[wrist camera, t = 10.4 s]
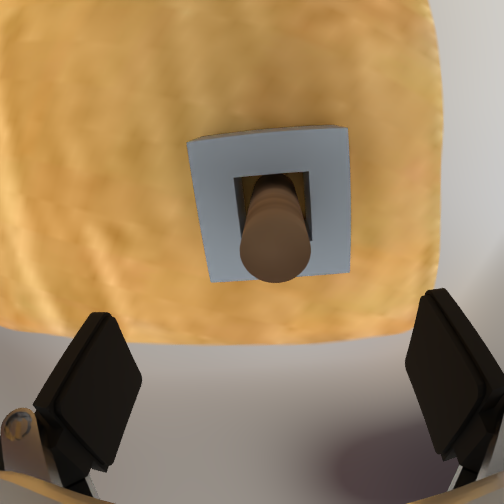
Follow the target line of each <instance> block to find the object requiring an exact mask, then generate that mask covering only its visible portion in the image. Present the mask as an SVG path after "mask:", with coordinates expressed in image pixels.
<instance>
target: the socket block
mask: <svg viewBox="0 0 504 504" xmlns="http://www.w3.org/2000/svg"><path fill="white" fill-rule="evenodd" d="M187 149H188V156H189V162H190V169H191V175H192V181H193V187H194V193H195V199H196V205H197V211H198V217H199V222H200V228H201V234H202V239H203V245H204V250H205V255H206V261H207V266H208V271H209V276H210V281H211V282H228V281H244V280H259V279H257V278H256V277H254V276H253V275H251V274H250V273H249V272H248V271H247V270H246V268H245V267H244V265H243V263H242V261H241V258H240V243H241V239H242V235H243V230H244V226H245V222H246V209H245V201H244V193H243V185H242V177H245V176H256V175H267V174H278V173H291V172H303V179H304V194H305V211H306V219H304V222H305V226H306V230H307V233H308V237H309V241H310V245H311V256H310V260H309V262H308V264H307V266H306V268H305V269H304V270H303V271H302V272H301V273H300V274H299V275H298V276H296V277H300V276H313V275H326V274H338V273H350V246H351V191H350V159H349V140H348V128H346V127H341V126H337V125H317V126H298V127H284V128H271V129H260V130H251V131H241V132H233V133H225V134H217V135H210V136H203V137H200V138H197V139H194V140H192V141H189V142H187Z"/></svg>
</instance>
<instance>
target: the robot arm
mask: <svg viewBox="0 0 504 504" xmlns="http://www.w3.org/2000/svg"><path fill="white" fill-rule="evenodd" d="M405 367H406V371H407V373H408V376H409V378H410V381H411V384H412V386H413V389H414V392H415V394H416V397H417V399H418V402H419V405H420V408H421V410H422V413H423V416H424V419H425V422H426V425H427V428H428V430H429V434H430V437H431V440H432V442H433V446H434V448H435V451H436V453H437V454H441V456H442V459H443V461H446V460H449V459H452V458H455V457H457V459H458V462H459V467H458V470H457V472H456V474H455V476H454V478H453V481H452V483H451V485H450V487H449V489H448V491H447V492H445V493H442V494H439V495H435V496H432V497H429V498H426V499H422V500H418V501H415V502H412V503H408V504H504V373H503V372H502V370H501V368H500V367H499V365H498V364H497V362H496V360H495V359H494V357H493V356H492V354H491V352H490V351H489V349H488V348H487V346H486V345H485V343H484V342H483V340H482V339H481V337H480V336H479V334H478V333H477V331H476V330H475V328H474V327H473V326H472V324H471V323H470V321H469V320H468V319H467V317H466V316H465V314H464V313H463V312H462V310H461V309H460V307H459V306H458V305H457V303H456V302H455V301H454V299H453V298H452V297H451V295H450V294H449V293H448V291H447V290H446V289H445V288H440V289H433V290H428V291H426V293H425V296H422V297H421V298H420V302H419V307H418V311H417V316H416V320H415V324H414V328H413V333H412V337H411V341H410V344H409V348H408V352H407V355H406V359H405ZM141 383H142V376H141V373H140V371H139V369H138V367H137V365H136V363H135V361H134V359H133V357H132V355H131V352H130V350H129V348H128V346H127V343H126V341H125V339H124V337H123V334H122V332H121V330H120V328H119V325H118V323H117V321H116V319H115V318H114V317H112V316H111V314H110V313H107V312H93V313H91V314H90V315H89V317H88V318H87V319H86V321H85V322H84V324H83V325H82V327H81V328H80V330H79V331H78V333H77V334H76V336H75V337H74V339H73V340H72V342H71V343H70V345H69V346H68V348H67V349H66V351H65V352H64V354H63V356H62V357H61V359H60V360H59V362H58V363H57V365H56V366H55V368H54V370H53V371H52V373H51V375H50V376H49V378H48V380H47V381H46V383H45V384H44V386H43V388H42V389H41V391H40V393H39V395H38V396H37V398H36V400H35V401H34V403H33V406H34V407H35V408H36V412H35V413H33V412H32V411H31V410H30V409H28V408H18V409H15V410H13V411H12V412H10V413H9V414H8V415H7V416H6V417H5V419H4V420H3V422H2V425H1V431H0V434H1V435H0V504H114V503H110V502H107V501H103V500H100V498H99V496H98V493H97V491H96V489H95V487H94V484H93V482H92V480H91V477H90V475H89V472H90V469H91V468H92V469H94V470H98V471H102V472H107V469H108V466H110V465H112V464H113V462H114V460H115V457H116V454H117V451H118V448H119V445H120V442H121V439H122V436H123V433H124V430H125V427H126V424H127V422H128V419H129V417H130V414H131V411H132V408H133V405H134V403H135V400H136V397H137V395H138V392H139V389H140V387H141Z"/></svg>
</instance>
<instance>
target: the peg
mask: <svg viewBox="0 0 504 504" xmlns="http://www.w3.org/2000/svg"><path fill="white" fill-rule="evenodd" d="M310 256H311V245H310V241H309V237H308V233H307V230H306V226H305V222H304V219H303V215H302V212H301V208H300V205H299V201H298V198H297V194H296V191H295V187H294V184H293V182H292V181H291V179H290V178H289V177H288V176H286V175H284V174H282V173H278V174H267V175H262V176H260V177H259V178H258V179H257V181H256V182H255V185H254V188H253V192H252V196H251V200H250V205H249V209H248V213H247V217H246V222H245V226H244V230H243V235H242V239H241V243H240V258H241V261H242V263H243V265H244V267H245V268H246V270H247V271H248V272H249V273H250V274H251V275H253V276H254V277H256V278H257V279H259V280H262V281H265V282H270V283H280V282H285V281H289V280H291V279H293V278H295V277H296V276H298V275H299V274H300V273H301V272H302V271H303V270H304V269H305V268H306V266H307V264H308V262H309V260H310Z"/></svg>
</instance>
